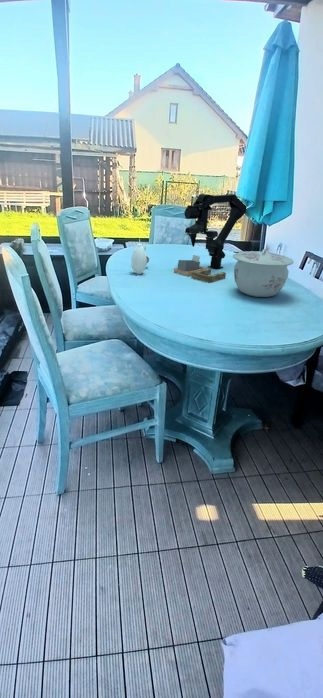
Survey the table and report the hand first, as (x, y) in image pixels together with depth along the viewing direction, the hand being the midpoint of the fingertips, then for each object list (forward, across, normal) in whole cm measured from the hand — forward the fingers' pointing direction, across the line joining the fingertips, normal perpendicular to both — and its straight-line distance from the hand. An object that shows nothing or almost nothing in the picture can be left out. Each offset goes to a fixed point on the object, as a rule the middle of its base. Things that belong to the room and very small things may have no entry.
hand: (199, 247), depth 214 cm
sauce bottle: (+12, -13, -35) cm, 39 cm away
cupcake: (+12, -22, -24) cm, 35 cm away
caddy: (+11, +2, -12) cm, 16 cm away
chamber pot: (+12, +47, -15) cm, 51 cm away
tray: (+12, +2, -10) cm, 15 cm away
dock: (+12, +16, -12) cm, 23 cm away
